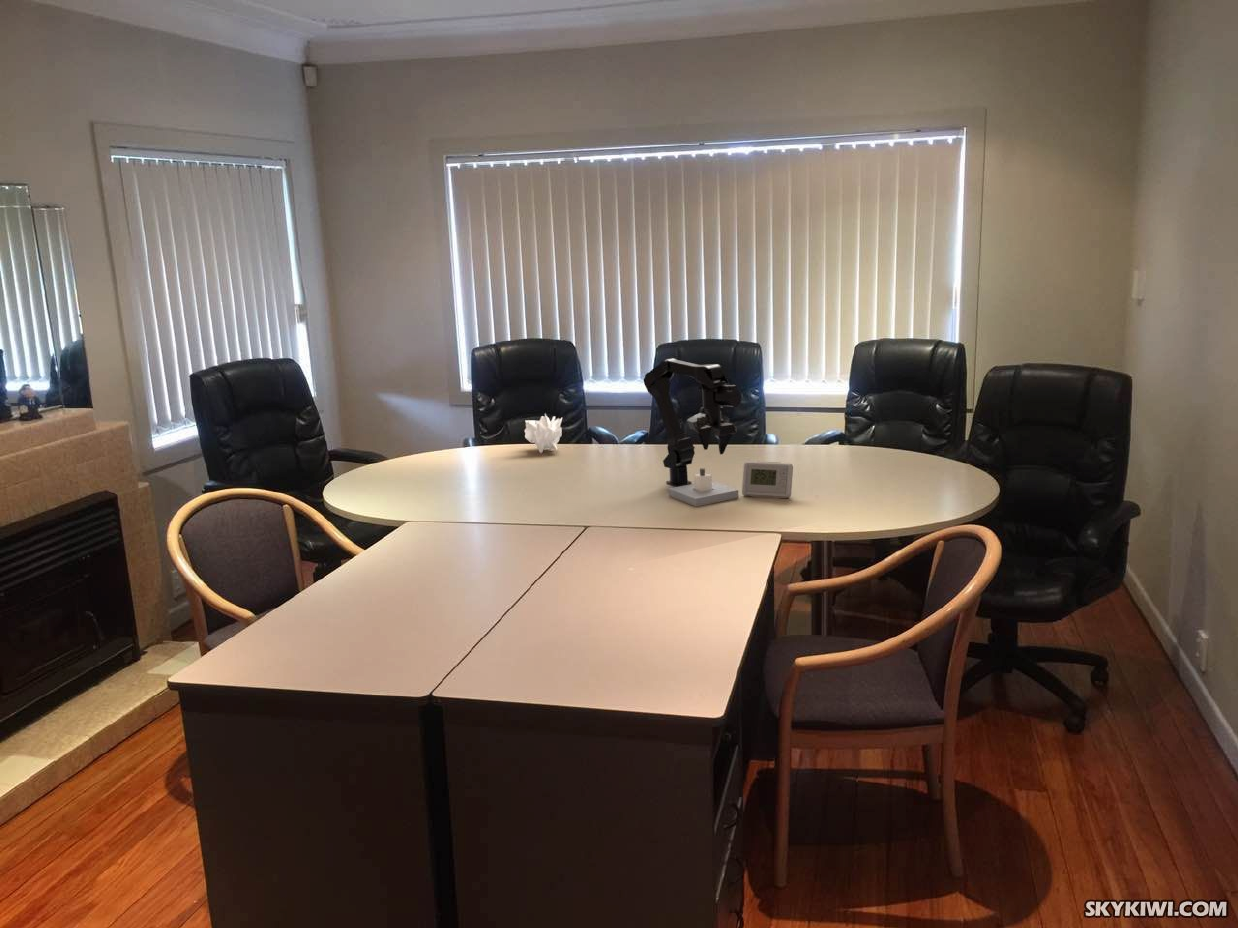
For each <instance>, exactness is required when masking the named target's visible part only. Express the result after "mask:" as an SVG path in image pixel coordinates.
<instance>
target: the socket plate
mask: <svg viewBox="0 0 1238 928" xmlns="http://www.w3.org/2000/svg"><path fill="white" fill-rule="evenodd" d="M668 496H669V497H671V498H673V499H676V500H678V501H681V502H683V503H686V504H688V505H691V506H693V507H700V506H705V505H710V504H715V503H719V502H724V501H728V500H734V499H738V498H739V489H737V488H734V487H730V486H728V485H725V484H722V483H719V482H716V481H713V480H712V490H710V491H705V492H698V491H696V490H695V487H694V483H690V484H685V485H680V486H674V487H671V488H668Z"/></svg>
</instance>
